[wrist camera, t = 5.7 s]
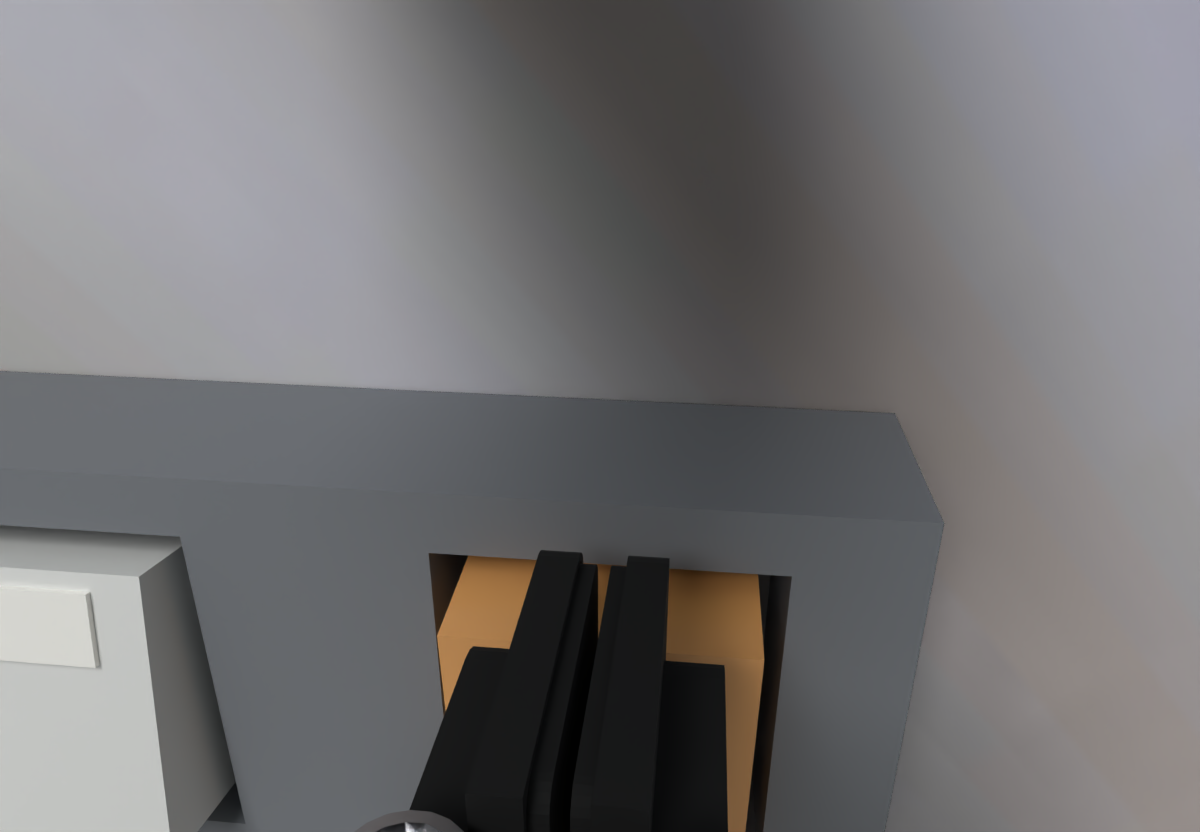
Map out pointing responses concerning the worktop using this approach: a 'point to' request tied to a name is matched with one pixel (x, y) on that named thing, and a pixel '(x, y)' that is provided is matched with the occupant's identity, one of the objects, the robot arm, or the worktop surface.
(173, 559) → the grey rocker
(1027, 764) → the worktop surface
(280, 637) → the grey switch box
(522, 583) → the labelled cardboard parcel
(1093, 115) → the worktop surface
